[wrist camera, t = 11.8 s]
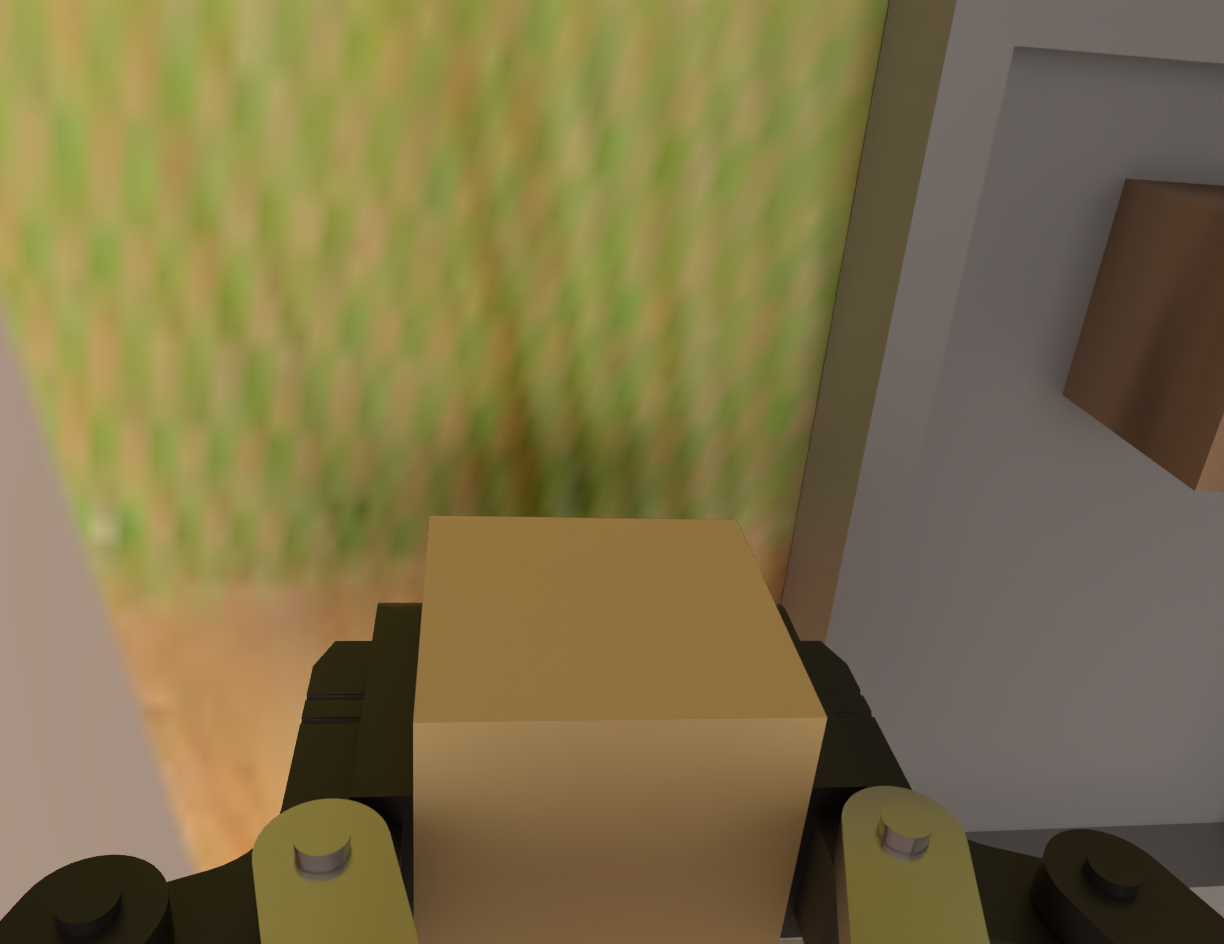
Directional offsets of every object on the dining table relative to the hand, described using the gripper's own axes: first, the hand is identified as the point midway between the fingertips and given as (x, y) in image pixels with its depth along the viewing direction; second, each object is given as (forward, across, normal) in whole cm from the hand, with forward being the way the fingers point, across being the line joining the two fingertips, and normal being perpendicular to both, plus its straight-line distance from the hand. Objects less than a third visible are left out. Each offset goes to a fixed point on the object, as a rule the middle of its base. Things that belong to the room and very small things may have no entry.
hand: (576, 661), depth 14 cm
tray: (+6, -12, +1) cm, 13 cm away
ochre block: (0, 0, 0) cm, 0 cm away
